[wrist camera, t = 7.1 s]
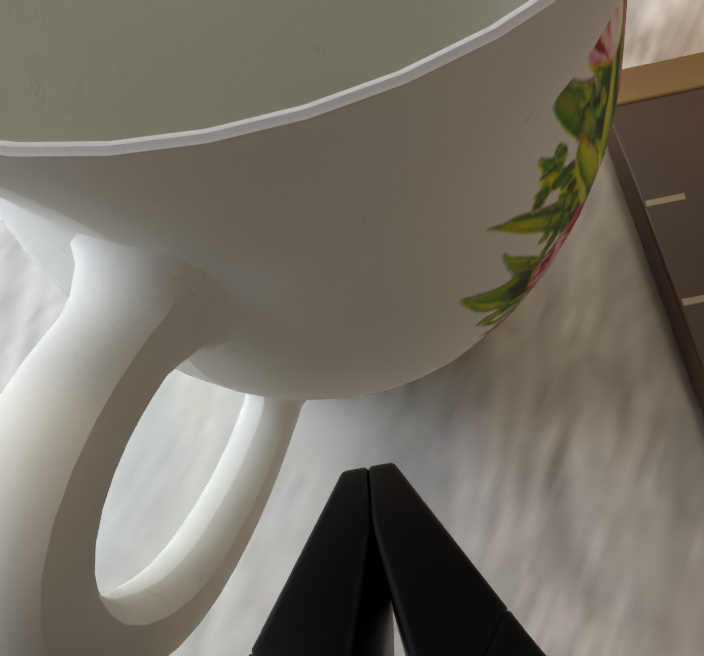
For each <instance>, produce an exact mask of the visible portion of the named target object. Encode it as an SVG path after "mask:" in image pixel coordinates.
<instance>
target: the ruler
mask: <svg viewBox="0 0 704 656" xmlns="http://www.w3.org/2000/svg"><path fill="white" fill-rule="evenodd" d="M607 147H608V150H609V153H610V156H611V158H612V161H613V164H614V167H615V169H616V172H617V175H618V178H619V181H620V183H621V186H622V189H623V192H624V194H625V197H626V200H627V203H628V206H629V208H630V211H631V214H632V217H633V219H634V222H635V225H636V228H637V230H638V233H639V236H640V239H641V242H642V244H643V247H644V250H645V253H646V255H647V258H648V261H649V264H650V267H651V269H652V272H653V275H654V278H655V280H656V283H657V286H658V289H659V292H660V294H661V297H662V300H663V303H664V305H665V308H666V311H667V314H668V316H669V319H670V322H671V325H672V328H673V330H674V333H675V336H676V339H677V341H678V344H679V347H680V350H681V353H682V355H683V358H684V361H685V364H686V366H687V369H688V372H689V375H690V377H691V380H692V383H693V386H694V389H695V391H696V394H697V397H698V400H699V402H700V405H701V408H702V411H703V414H704V52H702V53H697V54H693V55H688V56H683V57H679V58H674V59H669V60H665V61H660V62H656V63H651V64H646V65H642V66H637V67H632V68H628V69H623V70H622V73H621V85H620V91H619V95H618V100H617V104H616V109H615V114H614V118H613V122H612V126H611V130H610V134H609V138H608V142H607Z"/></svg>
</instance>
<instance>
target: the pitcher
mask: <svg viewBox="0 0 704 656" xmlns="http://www.w3.org/2000/svg"><path fill="white" fill-rule="evenodd" d="M626 9H627V0H0V218H1V219H2V221H3V222H4V223H5V225H6V226H7V228H8V229H9V230H10V232H11V233H12V234H13V236H14V237H15V238H16V240H17V241H18V242H19V244H20V245H21V246H22V248H23V249H24V250H25V252H26V253H27V254H28V256H29V257H30V258H31V260H32V261H33V262H34V263H35V264H36V265H37V266H38V267H39V268H40V269H41V271H42V272H43V273H44V274H45V275H46V276H47V277H48V278H49V279H50V280H51V281H52V282H53V283H54V284H55V285H56V286H57V287H58V288H59V289H60V290H61V291H62V292H64V293H65V294H66V295H67V296H68V297H69V298H68V300H67V303H66V305H65V307H64V309H63V312H62V314H61V315H60V317H59V318H58V319H57V320H56V322H55V323H54V324H53V325H52V327H51V328H50V329H49V330H48V332H47V333H46V334H45V335H44V337H43V338H42V339H41V340H40V342H39V343H38V344H37V345H36V346H35V348H34V349H33V350H32V351H31V353H30V354H29V355H28V356H27V357H26V359H25V360H24V361H23V363H22V364H21V366H20V367H19V368H18V370H17V371H16V373H15V374H14V376H13V377H12V378H11V380H10V381H9V383H8V384H7V386H6V387H5V389H4V390H3V391H2V393H1V395H0V656H169V655H170V654H171V653H172V652H173V651H175V650H176V649H177V648H178V647H179V646H180V645H181V644H182V643H183V642H184V641H185V640H186V638H187V637H188V636H189V635H190V634H191V633H192V632H193V630H194V629H195V628H196V627H197V626H198V625H199V624H200V622H201V621H202V620H203V618H204V617H205V615H206V614H207V612H208V611H209V610H210V608H211V607H212V605H213V604H214V602H215V601H216V599H217V598H218V596H219V595H220V593H221V592H222V590H223V588H224V586H225V585H226V583H227V581H228V580H229V578H230V576H231V574H232V573H233V571H234V569H235V567H236V565H237V564H238V562H239V560H240V558H241V556H242V554H243V552H244V550H245V548H246V546H247V544H248V542H249V540H250V538H251V536H252V534H253V532H254V530H255V528H256V526H257V524H258V521H259V519H260V517H261V515H262V512H263V510H264V508H265V505H266V503H267V501H268V499H269V496H270V494H271V491H272V489H273V486H274V483H275V481H276V478H277V476H278V473H279V470H280V468H281V465H282V462H283V459H284V457H285V454H286V451H287V448H288V446H289V443H290V440H291V437H292V434H293V432H294V429H295V426H296V423H297V420H298V417H299V413H300V410H301V407H302V405H303V404H304V402H305V400H325V399H349V398H356V397H361V396H366V395H370V394H375V393H379V392H384V391H387V390H390V389H393V388H396V387H398V386H401V385H404V384H407V383H410V382H412V381H415V380H418V379H420V378H422V377H424V376H426V375H428V374H429V373H431V372H433V371H435V370H437V369H439V368H441V367H443V366H445V365H447V364H449V363H450V362H452V361H453V360H454V359H456V358H457V357H459V356H460V355H462V354H463V353H464V352H466V351H467V350H469V349H470V348H472V347H473V346H475V345H476V344H477V343H478V342H480V341H481V340H482V339H483V338H485V337H486V336H487V335H488V334H489V333H490V332H491V331H492V330H494V329H495V328H496V327H497V326H498V325H499V324H500V323H501V322H502V321H503V320H504V319H506V318H507V317H508V316H509V315H510V314H511V313H512V312H513V311H514V310H515V308H516V307H517V306H518V305H519V304H520V302H521V301H522V300H523V299H524V298H525V296H526V295H527V294H528V293H529V291H530V290H531V289H532V288H533V287H534V285H535V284H536V283H537V282H538V280H539V279H540V278H541V277H542V275H543V274H544V273H545V272H546V270H547V269H548V267H549V266H550V264H551V262H552V261H553V259H554V258H555V256H556V254H557V253H558V251H559V249H560V248H561V246H562V245H563V243H564V241H565V240H566V238H567V236H568V235H569V233H570V231H571V229H572V228H573V226H574V224H575V222H576V220H577V219H578V217H579V215H580V213H581V210H582V208H583V206H584V203H585V201H586V199H587V196H588V194H589V192H590V189H591V187H592V185H593V182H594V180H595V177H596V175H597V172H598V169H599V167H600V164H601V161H602V159H603V156H604V154H605V150H606V146H607V142H608V138H609V134H610V130H611V126H612V122H613V118H614V114H615V109H616V104H617V100H618V95H619V91H620V85H621V73H622V62H623V50H624V36H625V22H626ZM174 369H177V370H179V371H181V372H183V373H185V374H187V375H190V376H193V377H196V378H198V379H201V380H204V381H207V382H210V383H213V384H216V385H219V386H222V387H225V388H228V389H231V390H234V391H237V392H242V393H245V400H244V403H243V406H242V409H241V412H240V414H239V417H238V420H237V423H236V425H235V428H234V430H233V433H232V435H231V437H230V440H229V442H228V445H227V447H226V449H225V451H224V453H223V455H222V457H221V460H220V462H219V464H218V466H217V468H216V469H215V471H214V473H213V475H212V477H211V479H210V481H209V482H208V484H207V486H206V488H205V489H204V491H203V493H202V494H201V496H200V498H199V499H198V501H197V503H196V504H195V506H194V507H193V509H192V510H191V512H190V514H189V515H188V517H187V518H186V520H185V521H184V523H183V524H182V526H181V527H180V529H179V530H178V531H177V533H176V534H175V535H174V537H173V538H172V540H171V541H170V542H169V544H168V545H167V546H166V547H165V548H164V550H163V551H162V552H161V553H160V554H159V555H158V556H157V557H156V558H155V560H154V561H153V562H152V563H151V564H150V565H149V566H147V567H146V568H145V569H144V570H142V571H141V572H140V573H139V574H137V575H136V576H135V577H134V578H132V579H131V580H130V581H128V582H126V583H124V584H122V585H121V586H119V587H117V588H115V589H113V590H110V591H106V592H102V593H100V592H99V591H98V588H97V583H96V578H95V547H96V539H97V534H98V529H99V524H100V519H101V514H102V509H103V506H104V503H105V500H106V497H107V494H108V491H109V488H110V485H111V482H112V479H113V476H114V473H115V470H116V468H117V466H118V464H119V461H120V459H121V457H122V454H123V452H124V450H125V447H126V445H127V443H128V441H129V439H130V437H131V435H132V433H133V431H134V429H135V427H136V425H137V423H138V421H139V420H140V418H141V416H142V414H143V412H144V411H145V409H146V407H147V406H148V404H149V402H150V401H151V399H152V397H153V396H154V394H155V393H156V391H157V390H158V388H159V387H160V385H161V384H162V382H163V381H164V379H165V378H166V376H167V375H168V374H169V373H170V372H171V371H173V370H174Z"/></svg>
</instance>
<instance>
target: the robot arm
mask: <svg viewBox="0 0 704 656" xmlns="http://www.w3.org/2000/svg"><path fill="white" fill-rule="evenodd" d="M392 607H393V609H392ZM393 611H394V615H395V619H396V622H397V626H398V630H399V634H400V637H401V641H402V645H403V649H404V652H405V656H546V655H545V654H544V652H543V651H542V650H541V649H540V648H539V646H538V645H537V644H536V643H535V642H534V640H533V639H532V638H531V637H530V636H529V635H528V633H527V632H526V631H525V630H524V628H523V627H522V626H521V624H520V623H519V622H518V621H517V619H516V618H515V617H514V615H513V614H512V613H511V612H510V611H507V607H506V606H505V604H504V603H503V602H502V601H501V599H500V598H499V597H498V595H497V594H496V593H495V592H494V590H493V589H492V588H491V586H490V585H489V584H488V583H487V581H486V580H485V579H484V578H483V576H482V575H481V574H480V572H479V571H478V570H477V569H476V567H475V566H474V565H473V563H472V562H471V561H470V560H469V558H468V557H467V556H466V555H465V553H464V552H463V551H462V549H461V548H460V547H459V546H458V544H457V543H456V542H455V540H454V539H453V538H452V537H451V535H450V534H449V533H448V531H447V530H446V529H445V528H444V526H443V525H442V524H441V523H440V521H439V520H438V519H437V517H436V516H435V515H434V514H433V512H432V511H431V510H430V508H429V507H428V506H427V505H426V503H425V502H424V501H423V499H422V498H421V497H420V496H419V494H418V493H417V492H416V491H415V489H414V488H413V487H412V485H411V484H410V483H409V482H408V480H407V479H406V478H405V476H404V475H403V474H402V473H401V471H400V470H399V469H398V468H397V466H396V465H395V464H393V463H386V464H381V465H375V466H371V467H370V468H369V471H368V469H367V468H359V469H354V470H348V471H344V472H343V473H342V474H341V476H340V478H339V480H338V482H337V484H336V486H335V487H334V489H333V491H332V493H331V495H330V497H329V499H328V501H327V503H326V505H325V507H324V509H323V511H322V513H321V515H320V517H319V519H318V521H317V523H316V525H315V527H314V529H313V531H312V533H311V535H310V537H309V538H308V540H307V542H306V544H305V546H304V548H303V550H302V552H301V554H300V556H299V558H298V560H297V562H296V564H295V566H294V568H293V570H292V572H291V574H290V576H289V578H288V580H287V582H286V584H285V586H284V588H283V590H282V591H281V593H280V595H279V597H278V599H277V601H276V603H275V605H274V607H273V609H272V611H271V613H270V615H269V617H268V619H267V621H266V623H265V625H264V627H263V629H262V631H261V633H260V635H259V637H258V639H257V641H256V642H255V644H254V646H253V648H252V653H253V654H250V655H249V656H394V626H393Z"/></svg>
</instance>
